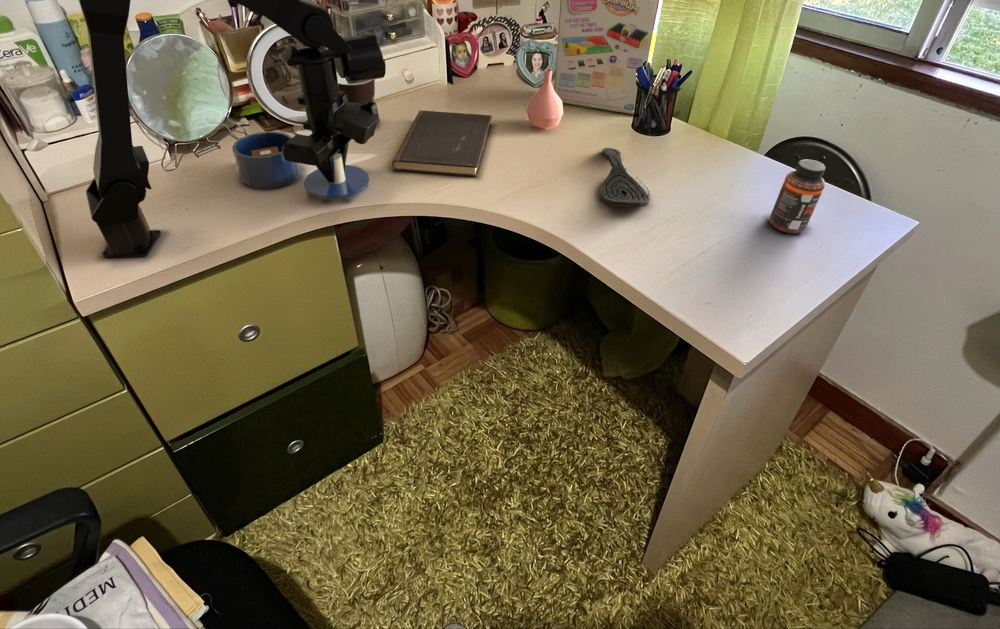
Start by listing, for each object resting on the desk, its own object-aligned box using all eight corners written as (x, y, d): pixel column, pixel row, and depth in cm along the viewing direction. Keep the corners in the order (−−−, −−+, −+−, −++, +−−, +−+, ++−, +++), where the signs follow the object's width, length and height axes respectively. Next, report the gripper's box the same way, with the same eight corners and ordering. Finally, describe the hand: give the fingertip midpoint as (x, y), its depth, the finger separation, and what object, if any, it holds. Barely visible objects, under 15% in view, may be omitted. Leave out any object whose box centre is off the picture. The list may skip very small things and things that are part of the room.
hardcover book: (491, 125, 125) (491, 115, 124) (477, 177, 108) (477, 166, 107) (418, 120, 126) (417, 110, 125) (392, 171, 109) (391, 159, 108)
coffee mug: (371, 135, 120) (365, 86, 113) (332, 130, 121) (323, 82, 114) (390, 113, 129) (385, 66, 122) (353, 109, 130) (347, 62, 123)
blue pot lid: (366, 201, 99) (362, 172, 95) (299, 202, 98) (292, 172, 94) (372, 169, 107) (369, 141, 103) (311, 170, 106) (305, 141, 103)
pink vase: (538, 116, 129) (542, 61, 121) (568, 126, 126) (574, 69, 118) (518, 128, 124) (521, 71, 116) (549, 138, 121) (554, 80, 113)
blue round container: (294, 188, 103) (287, 157, 99) (234, 189, 103) (225, 158, 99) (305, 161, 111) (299, 131, 107) (249, 161, 110) (241, 131, 106)
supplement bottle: (801, 239, 96) (829, 177, 88) (764, 228, 98) (788, 166, 90) (808, 222, 100) (835, 162, 92) (772, 212, 102) (796, 152, 94)
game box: (643, 108, 134) (669, -25, 116) (639, 117, 130) (665, -20, 112) (557, 93, 139) (569, -37, 121) (550, 101, 136) (562, -31, 117)
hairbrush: (630, 138, 116) (658, 198, 96) (627, 156, 118) (654, 217, 99) (589, 138, 116) (609, 197, 96) (586, 155, 118) (606, 217, 98)
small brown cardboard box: (285, 175, 106) (280, 155, 103) (259, 179, 104) (253, 159, 102) (281, 165, 109) (277, 145, 106) (256, 169, 107) (250, 149, 105)
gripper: (338, 119, 83) (353, 212, 93) (392, 74, 96) (400, 161, 107) (269, 108, 85) (292, 201, 96) (331, 66, 98) (345, 151, 109)
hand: (336, 177), depth 102 cm, fingers closed on blue pot lid, 3 cm apart
